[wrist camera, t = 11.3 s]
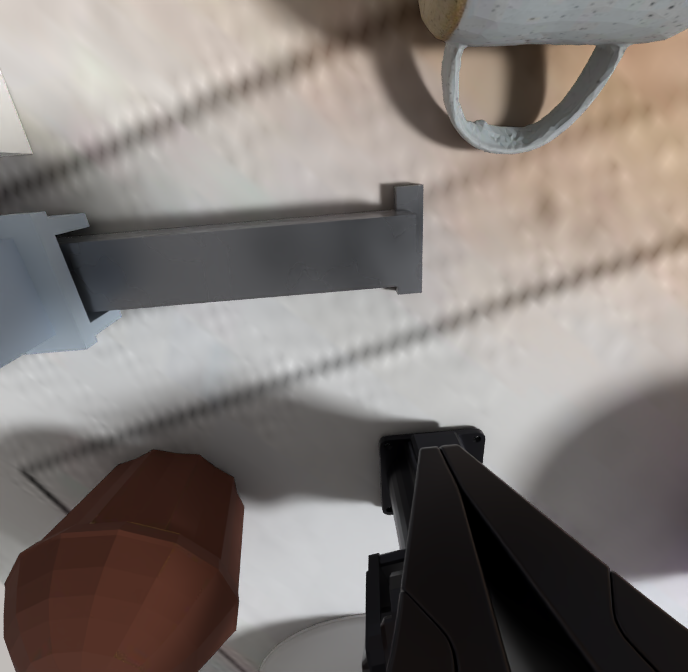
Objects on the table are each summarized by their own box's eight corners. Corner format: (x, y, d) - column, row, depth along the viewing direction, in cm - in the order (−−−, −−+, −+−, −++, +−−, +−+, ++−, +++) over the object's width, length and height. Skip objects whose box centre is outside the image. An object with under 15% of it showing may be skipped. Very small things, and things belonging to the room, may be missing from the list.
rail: (419, 288, 19) (430, 304, 16) (-91, 331, 19) (-147, 353, 16) (420, 184, 17) (434, 186, 14) (-154, 232, 17) (-227, 242, 14)
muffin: (79, 420, 21) (-106, 605, 12) (267, 442, 23) (225, 626, 13) (99, 551, 26) (-24, 753, 17) (253, 564, 27) (214, 759, 18)
